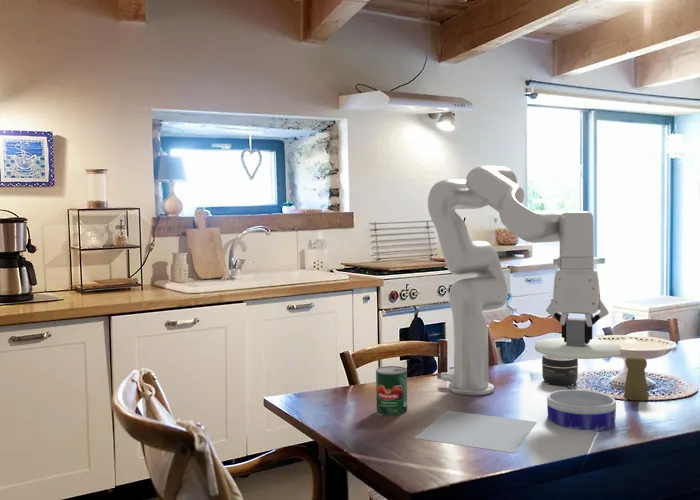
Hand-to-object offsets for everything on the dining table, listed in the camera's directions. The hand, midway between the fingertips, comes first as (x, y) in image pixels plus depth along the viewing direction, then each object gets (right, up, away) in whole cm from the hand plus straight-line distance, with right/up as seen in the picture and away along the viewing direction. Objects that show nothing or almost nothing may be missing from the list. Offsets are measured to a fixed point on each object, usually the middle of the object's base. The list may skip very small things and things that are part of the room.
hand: (577, 341), depth 154 cm
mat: (-24, -20, -4) cm, 32 cm away
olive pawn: (+23, -18, +20) cm, 36 cm away
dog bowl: (+1, -20, +1) cm, 20 cm away
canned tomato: (-43, -20, +12) cm, 49 cm away
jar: (+8, -17, +37) cm, 42 cm away
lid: (0, -2, 0) cm, 2 cm away
